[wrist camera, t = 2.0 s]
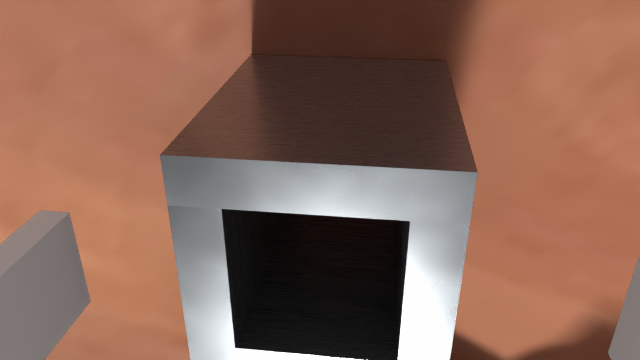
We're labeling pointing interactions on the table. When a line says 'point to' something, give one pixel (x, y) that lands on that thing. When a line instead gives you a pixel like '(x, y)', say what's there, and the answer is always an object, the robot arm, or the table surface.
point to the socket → (322, 211)
